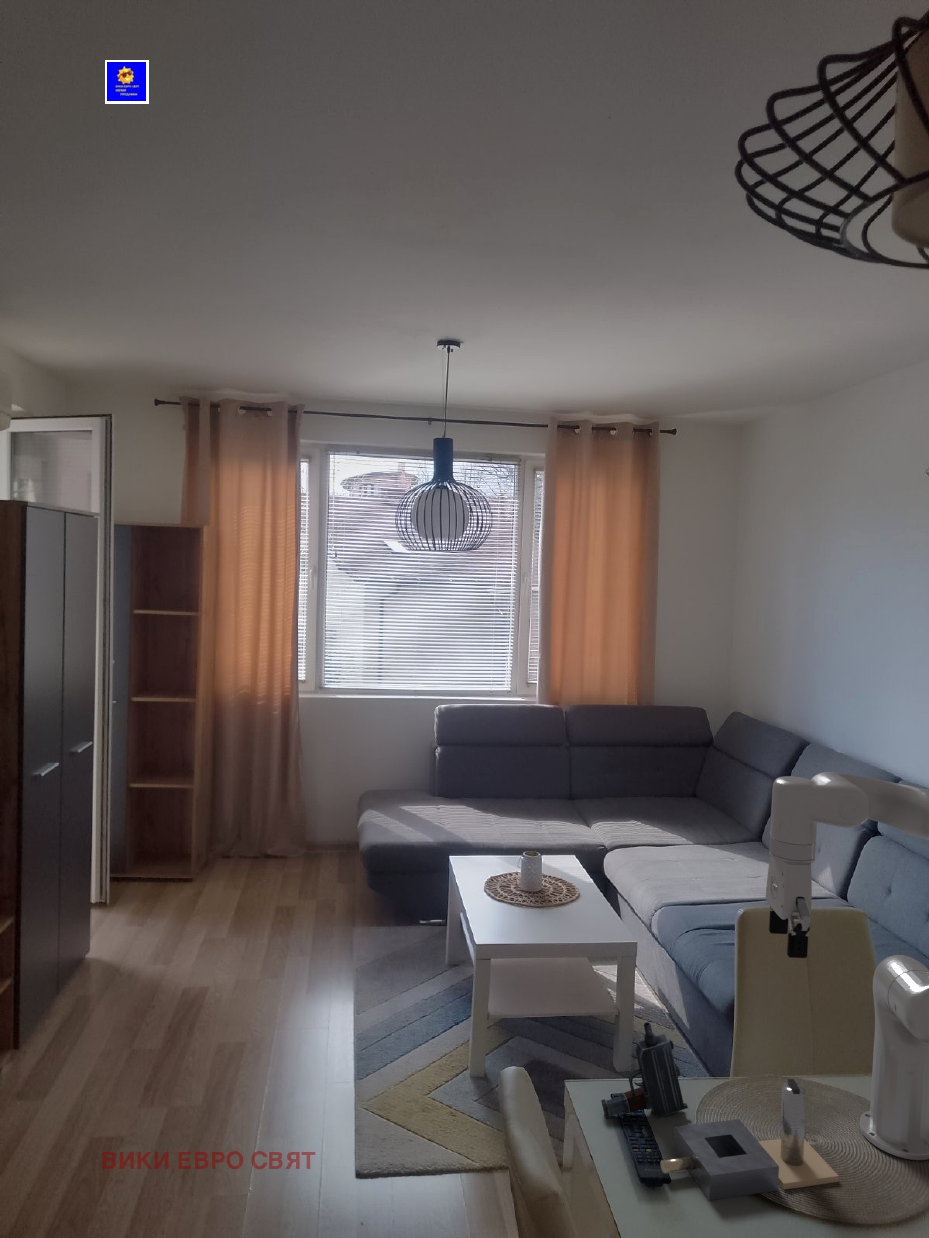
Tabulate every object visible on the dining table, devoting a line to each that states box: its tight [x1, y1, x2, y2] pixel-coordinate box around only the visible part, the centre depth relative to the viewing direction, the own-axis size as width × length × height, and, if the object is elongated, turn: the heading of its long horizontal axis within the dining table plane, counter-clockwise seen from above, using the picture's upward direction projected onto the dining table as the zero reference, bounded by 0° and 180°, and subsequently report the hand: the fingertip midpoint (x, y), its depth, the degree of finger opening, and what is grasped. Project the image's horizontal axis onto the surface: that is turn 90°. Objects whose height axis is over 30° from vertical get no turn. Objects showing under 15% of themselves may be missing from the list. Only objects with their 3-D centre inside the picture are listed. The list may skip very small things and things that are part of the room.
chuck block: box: [659, 1118, 779, 1201], centre depth 140 cm, size 17×12×4 cm
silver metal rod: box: [780, 1078, 806, 1166], centre depth 142 cm, size 4×4×13 cm
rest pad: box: [758, 1138, 840, 1190], centre depth 143 cm, size 10×10×1 cm
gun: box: [600, 1021, 689, 1119], centre depth 154 cm, size 3×17×15 cm
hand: (787, 944), depth 150 cm, fingers open, 9 cm apart
